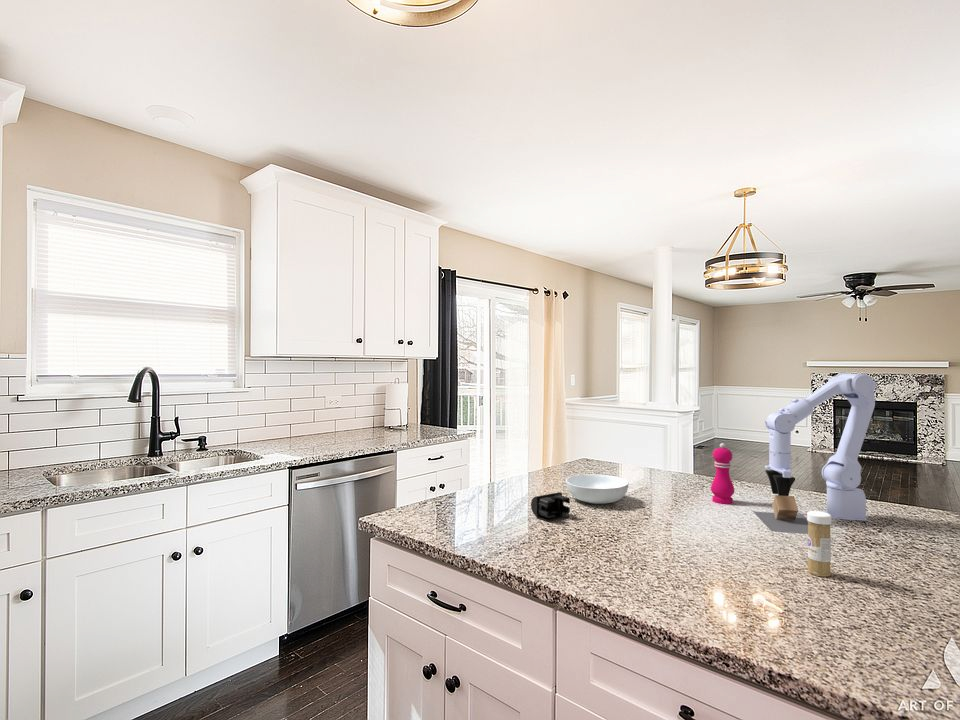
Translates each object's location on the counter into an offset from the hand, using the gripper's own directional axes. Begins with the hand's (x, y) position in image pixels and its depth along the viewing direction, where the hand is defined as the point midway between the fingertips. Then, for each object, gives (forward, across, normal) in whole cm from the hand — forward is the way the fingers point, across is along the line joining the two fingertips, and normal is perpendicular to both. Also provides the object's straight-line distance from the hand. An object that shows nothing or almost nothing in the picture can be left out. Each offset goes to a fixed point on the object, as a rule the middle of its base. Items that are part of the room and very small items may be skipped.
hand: (779, 496), depth 161 cm
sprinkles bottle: (+6, +47, -5) cm, 48 cm away
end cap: (+6, +19, -68) cm, 71 cm away
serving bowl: (+6, -4, -55) cm, 56 cm away
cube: (+4, +3, 0) cm, 5 cm away
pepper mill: (+6, -12, -14) cm, 20 cm away
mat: (+6, +8, 0) cm, 10 cm away
